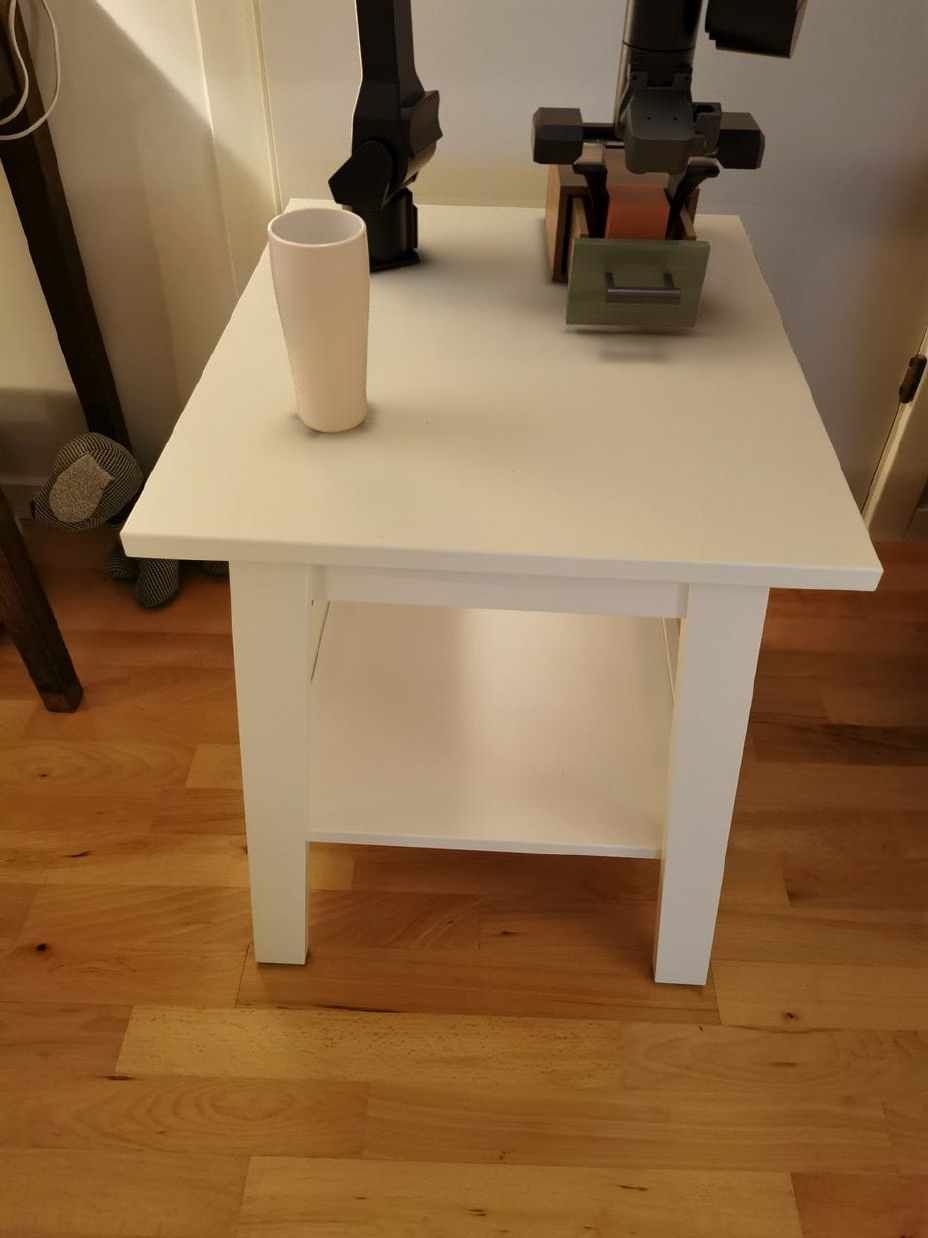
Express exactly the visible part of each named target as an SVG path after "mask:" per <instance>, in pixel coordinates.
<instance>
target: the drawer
mask: <svg viewBox="0 0 928 1238" xmlns="http://www.w3.org/2000/svg"><path fill="white" fill-rule="evenodd" d="M697 238H698V235H697V233H696V230H695V227H694V225H692V222H691V220H690V217H689V215H688V212H687V210H686V207H685V205H684V206H683V208H682V210H681V212H680V214H679V216H678V217H677V219H676V221H675V223H674V225H673V227H672V229H671V230H670V232H669V234H668V236H667V238H666V240H648V239H607V238H599V237H598V232H597V226H596V221H595V215H594V210H593V204H592V199H591V195H570V202H569V213H568V223H567V234H566V244H565V255H564V256H565V263H566V270H567V276H568V283H567V284H568V287H567V293H566V304H565V313H564V314H565V315H564V322H565V325H567V326H568V325H569V326H571V325H572V326H613V327H619V326H620V327H651V328H652V327H656V328H696V323H697V317H698V312H699V308H700V303H701V302H700V301H701V297H702V293H703V289H704V282H705V278H706V274H707V273H706V272H707V268H708V263H709V257H710V253H711V249H712V246H711V244H710V242H709V240H697Z"/></svg>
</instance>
